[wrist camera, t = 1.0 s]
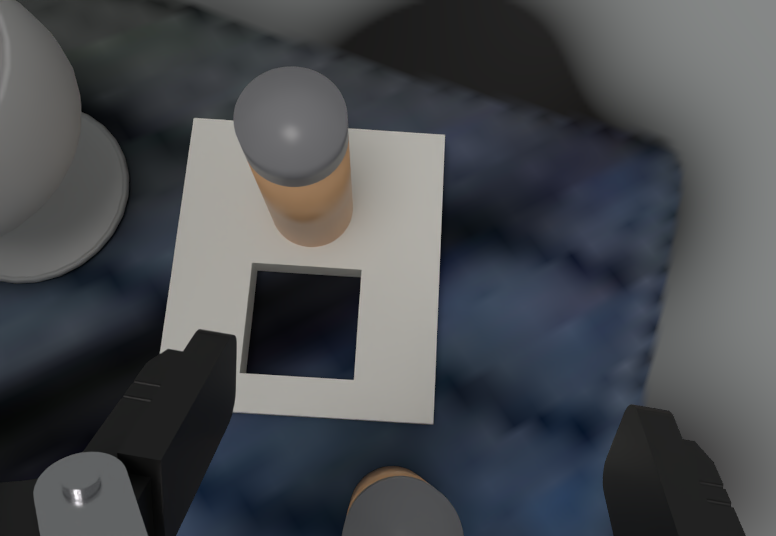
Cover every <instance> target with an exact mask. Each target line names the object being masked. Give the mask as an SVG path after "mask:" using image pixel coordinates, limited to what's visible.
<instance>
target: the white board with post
mask: <svg viewBox="0 0 776 536" xmlns="http://www.w3.org/2000/svg"><path fill="white" fill-rule="evenodd" d="M444 147H445V135H438V134H423V133H408V132H394V131H379V130H364V129H349V128H348V116H347V108H346V104H345V101H344V99H343V96H342V94H341V93H340V91H339V90H338V88H337V87H336V86H335V85H334V84H333V83H332V82H331V81H330V80H329V79H328V78H326V77H325V76H323V75H322V74H320V73H318V72H316V71H313V70H311V69H307V68H303V67H281V68H276V69H273V70H270V71H267V72H265V73H263V74H261V75H259V76H258V77H256V78H255V79H254V80H252V81H251V82H250V83H249V84H248V85H247V86H246V87H245V89H244V90H243V91H242V93H241V94H240V96H239V98H238V100H237V103H236V106H235V110H234V119H233V121H231V120H217V119H202V118H194V120H193V127H192V134H191V141H190V148H189V155H188V162H187V169H186V176H185V183H184V190H183V197H182V203H181V210H180V217H179V224H178V231H177V238H176V245H175V252H174V259H173V266H172V273H171V280H170V287H169V294H168V301H167V308H166V315H165V322H164V329H163V336H162V343H161V349H160V354H161V353H162V352H164V351H165V350H167V349H172V350H178V351H183V350H184V349H185V347H186V346H187V344H188V343H189V341H190V340H191V338H192V337H193V335H194V334H195V332H196V331H197V330H198V329H203V330H209V331H215V332H220V333H226V334H232V335H235V336H236V340H237V360H236V397H235V404H234V408H233V412H232V413H247V414H263V415H280V416H296V417H313V418H329V419H345V420H362V421H378V422H395V423H411V424H428V425H431V424H433V419H434V394H435V369H436V345H437V320H438V295H439V271H440V246H441V221H442V197H443V172H444ZM257 271H270V272H286V273H301V274H317V275H333V276H348V277H361V286H360V300H359V314H358V329H357V343H356V357H355V371H354V380H344V379H328V378H312V377H295V376H279V375H263V374H247V373H246V369H247V360H248V351H249V342H250V333H251V324H252V315H253V306H254V297H255V288H256V279H257Z"/></svg>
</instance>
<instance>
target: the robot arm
mask: <svg viewBox="0 0 776 536" xmlns="http://www.w3.org/2000/svg"><path fill="white" fill-rule="evenodd" d="M236 360H237V340H236V336H235V335H232V334H226V333H220V332H215V331H209V330H203V329H198V330H197V331H196V332H195V334H194V335H193V337H192V338H191V340H190V341H189V343H188V344H187V346H186V347H185V349H184V350H183V351H178V350H172V349H167V350H165V351H164V352H162V353H161V354H159V355H158V356H156V357H155V358H153V359H151V360H150V361H148V362H147V363H146V364H145V366H144V367H143V369H142V370H141V371H140V373H139V374H138V376H137V377H136V378H135V380H134V384H131V385H130V387H129V388H128V390H127V391H126V392H125V394H124V397H123V398H121V399H120V401H119V402H118V404H117V405H116V406H115V408H114V409H113V411H112V412H111V413H110V415H109V416H108V418H107V419H106V420H105V422H104V423H103V425H102V426H101V427H100V429H99V430H98V432H97V433H96V434H95V436H94V437H93V439H92V440H91V441H90V443H89V444H88V446H87V447H86V448H85V450H84V451H83V452H82V453H78V454H74V455H71V456H68V457H65V458H63V459H61V460H59V461H57V462H55V463H54V464H52V465H51V466H50V467H48V468H47V469H46V470H45V471H44V472H43V473H42V474H41V476H40V477H39V478H37V479H33V480H26V481H15V482H3V483H0V536H176V534H177V532H178V530H179V528H180V526H181V524H182V522H183V520H184V518H185V515H186V513H187V511H188V509H189V507H190V505H191V503H192V501H193V498H194V496H195V494H196V492H197V490H198V488H199V486H200V484H201V481H202V479H203V477H204V475H205V473H206V471H207V469H208V467H209V464H210V462H211V460H212V458H213V456H214V454H215V452H216V450H217V447H218V445H219V443H220V441H221V439H222V437H223V435H224V433H225V431H226V428H227V426H228V424H229V422H230V419H231V416H232V412H233V408H234V404H235V397H236ZM603 490H604V495H605V499H606V504H607V508H608V513H609V517H610V521H611V526H612V530H613V535H614V536H745V533H744V531H743V528H742V526H741V524H740V522H739V519H738V517H737V515H736V512H735V510H734V508H732V507H731V501H730V499H729V497H728V494H727V492H726V490H725V489H723V483H722V480H721V478H720V476H719V474H718V471H717V469H716V467H715V465H714V462H713V461H712V460H711V459H710V458H709V457H708V456H707V455H706V453H705V452H704V451H703V450H702V449H701V448H700V447H699V446H698V444H697V443H696V442H695V441H690V440H684V439H682V437H681V434H680V431H679V429H678V426H677V424H676V422H675V419H674V416H673V415H672V413H671V412H670V411H667V410H662V409H656V408H650V407H644V406H638V405H629V406H628V407H627V409H626V410H625V413H624V415H623V418H622V420H621V423H620V425H619V428H618V430H617V433H616V435H615V438H614V440H613V443H612V445H611V448H610V450H609V453H608V455H607V458H606V461H605V465H604V471H603Z"/></svg>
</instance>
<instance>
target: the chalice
mask: <svg viewBox="0 0 776 536" xmlns="http://www.w3.org/2000/svg"><path fill="white" fill-rule="evenodd" d="M128 197H129V172H128V168H127V163H126V159H125V156H124V154H123V152H122V150H121V148H120V146H119V144H118V142H117V140H116V139H115V138H114V137H113V135H112V134H111V133H110V132H109V131H108V130H107V129H106V127H105V126H104V125H102V124H101V123H99V122H98V121H96V120H95V119H94V118H92V117H91V116H89V115H88V114H85V113H83V112H81V98H80V92H79V88H78V85H77V81H76V77H75V74H74V70H73V67H72V66H71V64H70V62H69V61H68V59H67V57H66V55H65V54H64V52H63V50H62V49H61V47H60V45H59V44H58V42H57V41H56V39H55V38H54V37H53V35H52V34H51V32H49V31H48V30H47V29H46V28H45V27H44V26H43V25H42V24H41V23H40V22H39V21H38V20H37V19H36V18H35V17H34V16H33V15H32V14H31V13H30V12H29V11H28V10H27V9H25V8H24V7H23V6H22V5H21V4H20V3H19V2H17V1H16V0H0V281H2V282H8V283H15V284H16V283H34V282H41V281H44V280H48V279H52V278H55V277H59V276H62V275H64V274H66V273H68V272H70V271H72V270H74V269H76V268H78V267H80V266H81V265H83V264H84V263H85V262H86V261H88V260H89V259H90V258H91V257H93V256H94V255H95V254H96V253H98V252H99V251H100V250H101V248H102V247H103V246H104V245H105V244H106V242H107V241H108V240H109V239H110V238H111V237H112V235H113V234H114V232H115V230H116V228H117V226H118V225H119V223H120V221H121V219H122V217H123V215H124V211H125V207H126V204H127V200H128Z"/></svg>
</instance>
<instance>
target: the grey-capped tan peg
mask: <svg viewBox="0 0 776 536" xmlns="http://www.w3.org/2000/svg"><path fill="white" fill-rule="evenodd" d="M342 536H464V535H463V529H462V525H461V522H460V519H459V517H458V514H457V512H456V511H455V509H454V507H453V506H452V504H451V503H450V502H449V500H448V499H447V498H446V497H445V496H444V495H443V494H442V493H440V492H439V491H438V490H437V489H435V488H434V487H433V486H431V485H430V484H429V483H428V482H426V481H425V480H424V479H422V478H421V477H420V476H418V475H417V474H416V473H414V472H412V471H411V470H409V469H406V468H403V467H398V466H386V467H381V468H378V469H376V470H373V471H372V472H370V473H368V474H367V475H366V476H365V477H363V478H362V480H361V481H360V482H359V483H358V484H357V486H356V488H355V489H354V491H353V494H352V496H351V500H350V504H349V508H348V512H347V516H346V520H345V524H344V527H343V532H342Z"/></svg>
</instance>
